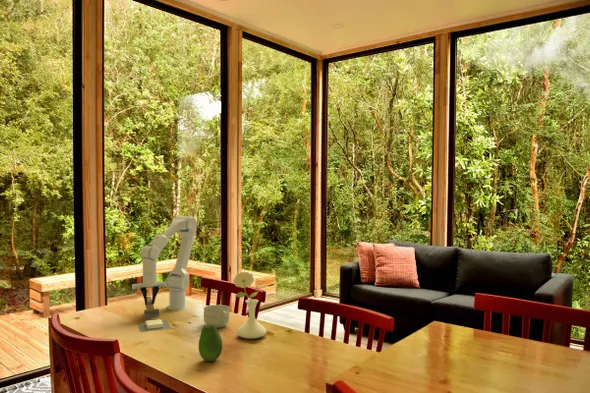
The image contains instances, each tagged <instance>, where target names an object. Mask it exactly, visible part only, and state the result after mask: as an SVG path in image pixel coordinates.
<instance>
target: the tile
mask: <svg viewBox="0 0 590 393" xmlns="http://www.w3.org/2000/svg"><path fill="white" fill-rule="evenodd" d="M162 321H163V320H162V319H160V318H159V319H158V318H157V319H149V320H148V319H147V320H145V322H146V326H147V329H154V328H162V327H163V322H162Z"/></svg>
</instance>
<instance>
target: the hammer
mask: <svg viewBox="0 0 590 393" xmlns="http://www.w3.org/2000/svg"><path fill="white" fill-rule="evenodd" d="M144 306H145V309H144V310H143V311H144V314H143V318H144V320H146V319H147V320H148V319H155V318H157V319H158V318H160V308H155V306H154V304H153V303H152V296H147V305H144Z"/></svg>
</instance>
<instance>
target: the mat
mask: <svg viewBox="0 0 590 393" xmlns="http://www.w3.org/2000/svg"><path fill="white" fill-rule="evenodd" d="M161 321H162V322H163V327H162V328H154V329H147V326H146V321H144V322H139V323H138V322H137V323H136V324H137V326H138V328H139V332H140V333H146V332H153V331H162V330H171V329H173V328H172V326H171V324H170V323H169V322H168V320H167V319H165V320H161Z"/></svg>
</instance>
